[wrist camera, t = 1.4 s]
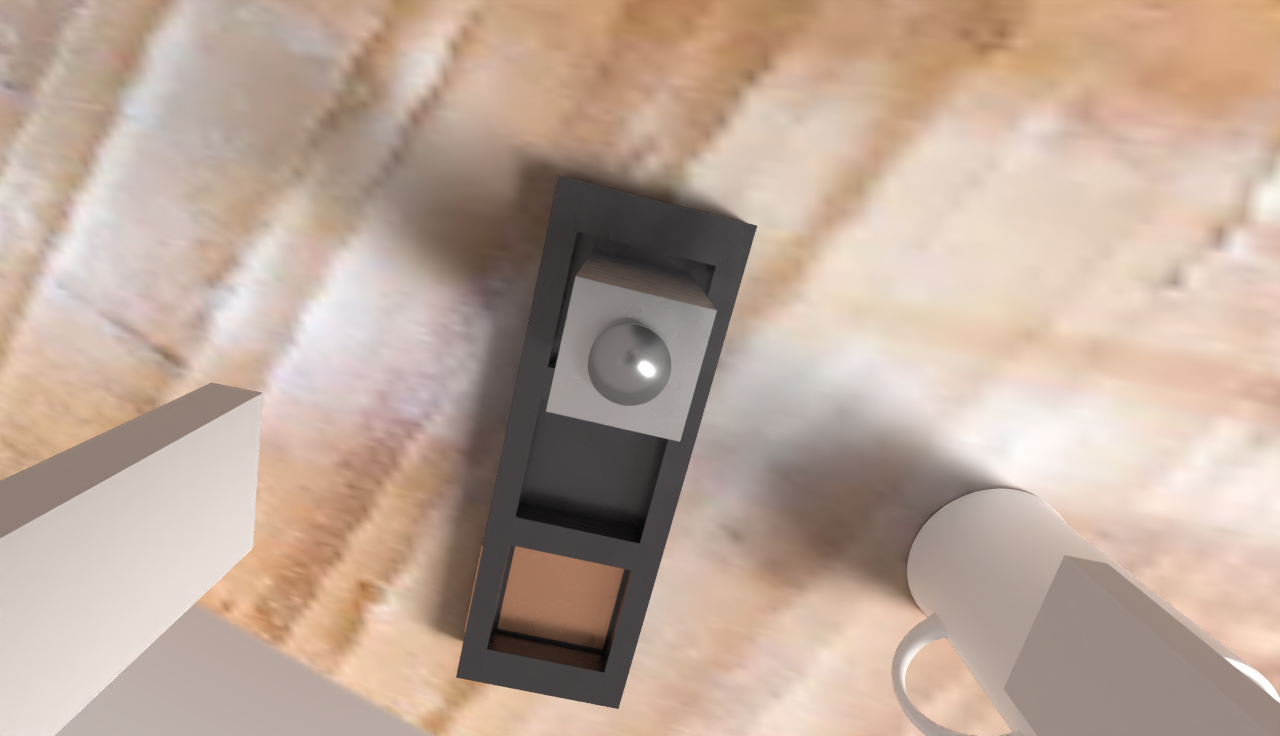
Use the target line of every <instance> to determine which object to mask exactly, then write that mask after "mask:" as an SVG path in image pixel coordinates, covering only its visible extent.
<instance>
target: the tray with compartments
mask: <svg viewBox="0 0 1280 736" xmlns="http://www.w3.org/2000/svg"><path fill="white" fill-rule="evenodd" d="M756 228H757V226H756V225H752V224H749V223H745V222H741V221H737V220H733V219H729V218H725V217H721V216H717V215H713V214H710V213H706V212H702V211H698V210H694V209H690V208H686V207H682V206H678V205H674V204H670V203H666V202H662V201H658V200H655V199H651V198H647V197H643V196H639V195H635V194H631V193H627V192H623V191H619V190H615V189H611V188H607V187H603V186H600V185H596V184H592V183H588V182H584V181H580V180H576V179H572V178H568V177H564V176H560V175H559V176H558V181H557V186H556V191H555V196H554V201H553V206H552V211H551V216H550V220H549V225H548V230H547V235H546V240H545V245H544V250H543V255H542V260H541V265H540V269H539V274H538V279H537V284H536V289H535V294H534V299H533V304H532V309H531V314H530V318H529V323H528V328H527V333H526V338H525V343H524V348H523V353H522V358H521V363H520V367H519V372H518V377H517V382H516V387H515V392H514V397H513V402H512V407H511V412H510V416H509V421H508V426H507V431H506V436H505V441H504V446H503V451H502V456H501V461H500V465H499V470H498V475H497V480H496V485H495V490H494V495H493V500H492V505H491V510H490V514H489V519H488V524H487V529H486V534H485V539H484V541H483V543H482V546H481V551H480V556H479V561H478V566H477V571H476V576H475V580H474V585H473V590H472V595H471V600H470V605H469V610H468V615H467V620H466V625H465V630H464V633H465V637H464V642H463V647H462V652H461V657H460V661H459V666H458V671H457V676H456V678H461V679H467V680H472V681H477V682H482V683H487V684H492V685H498V686H503V687H508V688H513V689H518V690H523V691H529V692H534V693H539V694H544V695H549V696H554V697H560V698H565V699H570V700H575V701H580V702H586V703H591V704H596V705H601V706H606V707H611V708H617V709H618V708H619V705H620V701H621V698H622V694H623V691H624V687H625V684H626V680H627V677H628V673H629V670H630V666H631V663H632V659H633V656H634V652H635V649H636V646H637V642H638V639H639V635H640V632H641V628H642V625H643V621H644V618H645V614H646V611H647V607H648V604H649V600H650V597H651V593H652V590H653V586H654V583H655V579H656V576H657V572H658V569H659V565H660V562H661V558H662V555H663V551H664V548H665V545H666V541H667V538H668V534H669V531H670V527H671V524H672V520H673V517H674V513H675V510H676V506H677V503H678V499H679V496H680V492H681V489H682V485H683V482H684V478H685V475H686V471H687V468H688V464H689V461H690V457H691V454H692V450H693V447H694V443H695V440H696V437H697V433H698V430H699V426H700V423H701V419H702V416H703V412H704V409H705V405H706V402H707V398H708V395H709V391H710V388H711V384H712V381H713V377H714V374H715V370H716V367H717V363H718V360H719V356H720V353H721V349H722V346H723V342H724V339H725V336H726V332H727V329H728V325H729V322H730V318H731V315H732V311H733V308H734V304H735V301H736V297H737V294H738V290H739V287H740V283H741V280H742V276H743V273H744V269H745V266H746V262H747V259H748V255H749V252H750V248H751V245H752V241H753V238H754V234H755V231H756ZM593 250H594V251H598V252H602V253H606V254H610V255H614V256H618V257H622V258H626V259H630V260H634V261H638V262H642V263H646V264H650V265H654V266H658V267H662V268H667V269H671V270H675V271H679V272H683V273H687V274H691V275H692V276H693V278H694V279H695V281H696V282H697V283H698V285H699V286H700V288H701V289H702V290H703V292H704V293H705V295H706V296H707V297H708V299H709V300H710V302H711V303H712V305H713V306H714V307H715V309H716V310H717V312H716V316H715V319H714V323H713V326H712V330H711V333H710V337H709V340H708V344H707V348H706V351H705V355H704V358H703V362H702V365H701V369H700V373H699V376H698V380H697V383H696V387H695V390H694V394H693V397H692V401H691V405H690V408H689V412H688V415H687V419H686V422H685V426H684V430H683V433H682V437H681V440H680V442H679V441H674V440H670V439H666V438H661V437H657V436H652V435H648V434H644V433H639V432H635V431H630V430H626V429H621V428H617V427H613V426H608V425H604V424H599V423H595V422H591V421H586V420H582V419H577V418H573V417H568V416H564V415H560V414H555V413H551V412H546V409H547V404H548V400H549V395H550V391H551V386H552V381H553V377H554V372H555V368H556V363H557V359H558V354H559V350H560V345H561V340H562V336H563V331H564V327H565V322H566V318H567V313H568V309H569V304H570V299H571V295H572V290H573V286H574V281H575V277H576V275H577V273H578V272H579V270H580V269H581V267H582V266H583V264H584V263H585V261H586V260H587V258H588V257H589V255H590V254H591V252H592V251H593Z"/></svg>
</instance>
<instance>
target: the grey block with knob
mask: <svg viewBox="0 0 1280 736" xmlns="http://www.w3.org/2000/svg"><path fill="white" fill-rule="evenodd" d="M716 312H717V310H716V309H715V307H714V306H713V305H712V303H711V302H710V300H709V299H708V297H707V296H706V295H705V293H704V292H703V290H702V289H701V288H700V286H699V285H698V283H697V282H696V281H695V279H694V278H693V276H692V275H691V274H687V273H683V272H679V271H675V270H671V269H667V268H662V267H658V266H654V265H650V264H646V263H642V262H638V261H634V260H630V259H626V258H622V257H618V256H614V255H610V254H606V253H602V252H598V251H594V250H593V251H592V252H591V254H590V255H589V257H588V258H587V260H586V261H585V263H584V264H583V266H582V267H581V269H580V270H579V272H578V273H577V275H576V277H575V281H574V286H573V290H572V295H571V299H570V304H569V309H568V313H567V318H566V322H565V327H564V331H563V336H562V340H561V345H560V350H559V354H558V359H557V363H556V368H555V372H554V377H553V381H552V386H551V391H550V395H549V400H548V404H547V409H546V412H551V413H555V414H560V415H564V416H568V417H573V418H577V419H582V420H586V421H591V422H595V423H599V424H604V425H608V426H613V427H617V428H621V429H626V430H630V431H635V432H639V433H644V434H648V435H652V436H657V437H661V438H666V439H670V440H674V441H679V442H680V440H681V437H682V433H683V430H684V426H685V422H686V419H687V415H688V412H689V408H690V405H691V401H692V397H693V394H694V390H695V387H696V383H697V380H698V376H699V373H700V369H701V365H702V362H703V358H704V355H705V351H706V348H707V344H708V340H709V337H710V333H711V330H712V326H713V323H714V319H715V316H716Z"/></svg>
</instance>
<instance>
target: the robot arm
mask: <svg viewBox="0 0 1280 736" xmlns="http://www.w3.org/2000/svg"><path fill="white" fill-rule="evenodd" d="M262 395H263V393H261V392H256V391H251V390H246V389H241V388H236V387H231V386H226V385H221V384H216V383H210V384H208V385H206V386H204V387H201V388H199V389H197V390H195V391H193V392H191V393H188V394H186V395H184V396H182V397H180V398H178V399H176V400H173V401H171V402H169V403H167V404H165V405H163V406H160V407H158V408H156V409H154V410H152V411H150V412H148V413H145V414H143V415H141V416H139V417H137V418H135V419H133V420H130V421H128V422H126V423H124V424H122V425H120V426H117V427H115V428H113V429H111V430H109V431H107V432H105V433H102V434H100V435H98V436H96V437H94V438H92V439H89V440H87V441H85V442H83V443H81V444H79V445H77V446H74V447H72V448H70V449H68V450H66V451H64V452H62V453H59V454H57V455H55V456H53V457H51V458H49V459H46V460H44V461H42V462H40V463H38V464H36V465H34V466H31V467H29V468H27V469H25V470H23V471H21V472H18V473H16V474H14V475H12V476H10V477H8V478H6V479H3V480H1V481H0V736H54V735H55V734H56V733H58V732H59V731H60V730H61V729H62V728H63V727H64V726H65V725H66V724H67V723H68V722H69V721H70V720H71V719H72V718H73V717H74V716H76V714H78V713H79V712H80V711H81V710H82V709H83V708H84V707H85V706H86V705H87V704H88V703H89V702H90V701H92V700H93V699H94V698H95V697H96V696H97V695H98V694H99V693H100V692H101V691H102V690H103V689H104V688H105V687H106V686H107V685H108V684H110V683H111V682H112V681H113V680H114V679H115V678H116V677H117V676H118V675H119V674H120V673H121V672H122V671H123V670H124V669H125V668H126V667H127V666H129V665H130V664H131V663H132V662H133V661H134V660H135V659H136V658H137V657H138V656H139V655H140V654H141V653H142V652H143V651H145V650H146V649H147V648H148V647H149V646H150V645H151V644H152V643H153V642H154V641H155V640H156V639H157V638H158V637H159V636H160V635H161V634H162V633H164V632H165V631H166V630H167V629H168V628H169V627H170V626H171V625H172V624H173V623H174V622H175V621H176V620H177V619H178V618H180V617H181V615H183V614H184V613H185V612H186V611H187V610H188V609H189V608H190V607H191V606H192V605H193V604H194V603H195V602H196V601H198V600H199V599H200V598H201V597H202V596H203V595H204V594H205V593H206V592H207V591H208V590H209V589H210V588H211V587H212V586H213V585H214V584H216V583H217V582H218V581H219V580H220V579H221V578H222V577H223V576H224V575H225V574H226V573H227V572H228V571H229V570H230V569H231V568H233V567H234V566H235V565H236V564H237V563H238V562H239V561H240V560H241V559H242V558H243V557H244V556H245V555H246V554H247V553H248V552H249V551H251V550H252V549H253V538H254V522H255V506H256V490H257V474H258V458H259V443H260V427H261V411H262ZM1004 690H1005V692H1006V693H1007V695H1008V696H1009V697H1010V699H1011V700H1012V702H1013V703H1014V704H1015V706H1016V707H1017V708H1018V710H1019V711H1020V713H1021V714H1022V715H1023V717H1024V718H1025V720H1026V721H1027V722H1028V724H1029V725H1030V726H1031V728H1032V729H1033V731H1034V732H1035V733H1036V735H1037V736H1280V703H1279V702H1278V701H1277V700H1275V699H1274V698H1273V697H1272V696H1270V695H1269V694H1268V693H1267V692H1266V691H1264V690H1263V689H1262V688H1261V687H1259V686H1258V685H1257V684H1256V683H1254V682H1253V681H1252V680H1251V679H1249V678H1248V677H1247V676H1246V675H1245V674H1243V673H1242V672H1241V671H1240V670H1238V669H1237V668H1236V667H1235V666H1233V665H1232V664H1231V663H1230V662H1228V661H1227V660H1226V659H1225V658H1224V657H1222V656H1221V655H1220V654H1219V653H1217V652H1216V651H1215V650H1214V649H1212V648H1211V647H1210V646H1209V645H1207V644H1206V643H1205V642H1204V641H1203V640H1201V639H1200V638H1199V637H1198V636H1196V635H1195V634H1194V633H1193V632H1191V631H1190V630H1189V629H1188V628H1186V627H1185V626H1184V625H1183V624H1182V623H1180V622H1179V621H1178V620H1177V619H1175V618H1174V617H1173V616H1172V615H1170V614H1169V613H1168V612H1167V611H1165V610H1164V609H1163V608H1162V607H1161V606H1159V605H1158V604H1157V603H1156V602H1154V601H1153V600H1152V599H1151V598H1149V597H1148V596H1147V595H1146V594H1144V593H1143V592H1142V591H1141V590H1140V589H1138V588H1137V587H1136V586H1135V585H1133V584H1132V583H1131V582H1130V581H1128V580H1127V579H1126V578H1125V577H1123V576H1122V575H1121V574H1120V573H1119V572H1117V571H1116V570H1115V569H1114V568H1112V567H1111V566H1110V565H1109V564H1107V563H1102V562H1097V561H1092V560H1087V559H1082V558H1077V557H1072V556H1067V555H1064V557H1063V559H1062V562H1061V564H1060V566H1059V568H1058V570H1057V572H1056V575H1055V577H1054V579H1053V581H1052V583H1051V586H1050V588H1049V590H1048V592H1047V594H1046V597H1045V599H1044V601H1043V603H1042V605H1041V608H1040V610H1039V612H1038V614H1037V616H1036V619H1035V621H1034V623H1033V625H1032V627H1031V630H1030V632H1029V634H1028V636H1027V638H1026V641H1025V643H1024V645H1023V647H1022V649H1021V652H1020V654H1019V656H1018V658H1017V660H1016V663H1015V665H1014V667H1013V669H1012V671H1011V674H1010V676H1009V678H1008V680H1007V682H1006V684H1005V687H1004Z"/></svg>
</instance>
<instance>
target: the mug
mask: <svg viewBox="0 0 1280 736" xmlns="http://www.w3.org/2000/svg"><path fill="white" fill-rule="evenodd" d="M1064 555H1067V556H1072V557H1077V558H1082V559H1087V560H1092V561H1097V562H1102V563H1107V564H1109V565H1110V566H1111V567H1112V568H1114V569H1115V570H1116V571H1117V572H1119V573H1120V574H1121V575H1122V576H1123V577H1125V578H1126V579H1127V580H1128V581H1130V582H1131V583H1132V584H1133V585H1135V586H1136V587H1137V588H1138V589H1140V590H1141V591H1142V592H1143V593H1144V594H1146V595H1147V596H1148V597H1149V598H1151V599H1152V600H1153V601H1154V602H1156V603H1157V604H1158V605H1159V606H1161V607H1162V608H1163V609H1164V610H1165V611H1167V612H1168V613H1169V614H1170V615H1172V616H1173V617H1174V618H1175V619H1177V620H1178V621H1179V622H1180V623H1182V624H1183V625H1184V626H1185V627H1186V628H1188V629H1189V630H1190V631H1191V632H1193V633H1194V634H1195V635H1196V636H1198V637H1199V638H1200V639H1201V640H1203V641H1204V642H1205V643H1206V644H1207V645H1209V646H1210V647H1211V648H1212V649H1214V650H1215V651H1216V652H1217V653H1219V654H1220V655H1221V656H1222V657H1224V658H1225V659H1226V660H1227V661H1228V662H1230V663H1231V664H1232V665H1233V666H1235V667H1236V668H1237V669H1238V670H1240V671H1241V672H1242V673H1243V674H1245V675H1246V676H1247V677H1248V678H1249V679H1251V680H1252V681H1253V682H1254V683H1256V684H1257V685H1258V686H1259V687H1261V688H1262V689H1263V690H1264V691H1266V692H1267V693H1268V694H1269V695H1270V696H1272V697H1273V698H1274V699H1275V700H1277V701H1278V702H1279V703H1280V698H1279V696H1278V694H1277V692H1276V691H1275V689H1274V688H1273V686H1272V685H1271V684H1270V682H1269V681H1268V680H1267V679H1266V678H1265V677H1264V676H1263V675H1262V674H1260V673H1259V672H1258V671H1257V670H1255V669H1254V668H1253V667H1252V666H1250V665H1249V664H1248V663H1247V662H1245V661H1244V660H1243V659H1241V658H1240V657H1239V656H1238V655H1236V654H1235V653H1234V652H1232V651H1231V650H1230V649H1228V648H1227V647H1226V646H1224V645H1223V644H1222V643H1221V642H1219V641H1218V640H1217V639H1215V638H1214V637H1213V636H1211V635H1210V634H1209V633H1208V632H1206V631H1205V630H1204V629H1202V628H1201V627H1200V626H1198V625H1197V624H1196V623H1195V622H1193V621H1192V620H1191V619H1189V618H1188V617H1187V616H1185V615H1184V614H1183V613H1181V612H1180V611H1179V610H1178V609H1176V608H1175V607H1174V606H1172V605H1171V604H1170V603H1168V602H1167V601H1166V600H1165V599H1163V598H1162V597H1161V596H1159V595H1158V594H1157V593H1155V592H1154V591H1153V590H1152V589H1150V588H1149V587H1148V586H1146V585H1145V584H1144V583H1142V582H1141V581H1140V580H1138V579H1137V578H1136V577H1135V576H1133V575H1132V574H1131V573H1129V572H1128V571H1127V570H1125V569H1124V568H1123V567H1122V566H1120V565H1119V564H1118V563H1116V562H1115V561H1114V560H1112V559H1111V558H1110V557H1109V556H1107V555H1106V554H1105V553H1103V552H1102V551H1101V550H1099V549H1098V548H1097V547H1095V546H1094V545H1093V544H1092V543H1090V542H1089V541H1088V540H1086V539H1085V538H1084V537H1083V536H1081V535H1080V534H1079V533H1077V532H1076V531H1075V530H1074V529H1072V528H1071V527H1070V526H1069V525H1067V524H1066V523H1065V521H1064V520H1063V519H1062V517H1061V516H1060V515H1059V514H1058V512H1057V511H1056V510H1055V509H1054V508H1053V507H1051V506H1050V505H1049V504H1048V503H1046V502H1045V501H1043V500H1042V499H1040V498H1038V497H1036V496H1034V495H1032V494H1029V493H1026V492H1023V491H1019V490H1013V489H987V490H981V491H977V492H973V493H970V494H967V495H964V496H962V497H960V498H958V499H956V500H954V501H952V502H950V503H948V504H947V505H945V506H944V507H942V508H941V509H940V510H939V511H937V512H936V513H935V514H934V515H933V516H932V517H931V518H930V519H929V520H928V521H927V522H926V523H925V524H924V526H923V527H922V528H921V530H920V531H919V533H918V534H917V536H916V538H915V540H914V542H913V544H912V547H911V550H910V553H909V557H908V563H907V579H908V585H909V588H910V591H911V594H912V596H913V598H914V600H915V602H916V604H917V605H918V606H919V608H920V609H921V610H922V611H923V613H924V614H925V615H926V616H927V617H928V618H926V619H925V620H924V621H922V622H921V623H919V624H918V625H916V626H915V627H914V628H913V629H912V630H910V631H909V632H908V633H907V635H906V636H905V637H904V638H903V639H902V641H901V642H900V644H899V646H898V648H897V650H896V652H895V655H894V658H893V662H892V683H893V688H894V691H895V695H896V697H897V700H898V702H899V704H900V706H901V708H902V709H903V711H904V713H905V714H906V716H907V717H908V718H909V719H910V721H911V722H912V723H913V724H914V725H915V726H916V727H917V728H918V729H919V730H920V731H921V732H922V733H923V734H925V735H926V736H975V735H968V734H964V733H960V732H956V731H953V730H950V729H948V728H945V727H943V726H941V725H939V724H937V723H935V722H933V721H932V720H930V719H929V718H927V717H926V716H925V715H923V714H922V713H921V712H920V711H919V710H918V709H917V708H916V707H915V706H914V705H913V703H912V702H911V701H910V699H909V697H908V695H907V693H906V689H905V673H906V670H907V667H908V665H909V663H910V661H911V660H912V658H913V657H914V656H915V654H916V653H917V652H918V651H919V650H920V649H922V648H923V647H924V646H925V645H927V644H929V643H930V642H932V641H935V640H938V639H942V638H947V640H948V641H949V642H950V644H951V645H952V647H953V648H954V649H955V651H956V652H957V654H958V655H959V657H960V658H961V659H962V661H963V662H964V664H965V665H966V667H967V668H968V669H969V671H970V672H971V674H972V675H973V676H974V678H975V679H976V681H977V682H978V684H979V685H980V686H981V688H982V689H983V691H984V692H985V694H986V695H987V696H988V698H989V699H990V701H991V702H992V704H993V705H994V706H995V708H996V709H997V711H998V712H999V713H1000V715H1001V716H1002V718H1003V719H1004V721H1005V722H1006V723H1007V725H1008V726H1009V728H1010V729H1011V731H1012V732H1011V733H1008V734H1005V735H1000V736H1037V735H1036V733H1035V732H1034V731H1033V729H1032V728H1031V726H1030V725H1029V724H1028V722H1027V721H1026V720H1025V718H1024V717H1023V715H1022V714H1021V713H1020V711H1019V710H1018V708H1017V707H1016V706H1015V704H1014V703H1013V702H1012V700H1011V699H1010V697H1009V696H1008V695H1007V693H1006V692H1005V690H1004V687H1005V684H1006V682H1007V680H1008V678H1009V676H1010V674H1011V671H1012V669H1013V667H1014V665H1015V663H1016V660H1017V658H1018V656H1019V654H1020V652H1021V649H1022V647H1023V645H1024V643H1025V641H1026V638H1027V636H1028V634H1029V632H1030V630H1031V627H1032V625H1033V623H1034V621H1035V619H1036V616H1037V614H1038V612H1039V610H1040V608H1041V605H1042V603H1043V601H1044V599H1045V597H1046V594H1047V592H1048V590H1049V588H1050V586H1051V583H1052V581H1053V579H1054V577H1055V575H1056V572H1057V570H1058V568H1059V566H1060V564H1061V562H1062V559H1063V557H1064Z"/></svg>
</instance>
